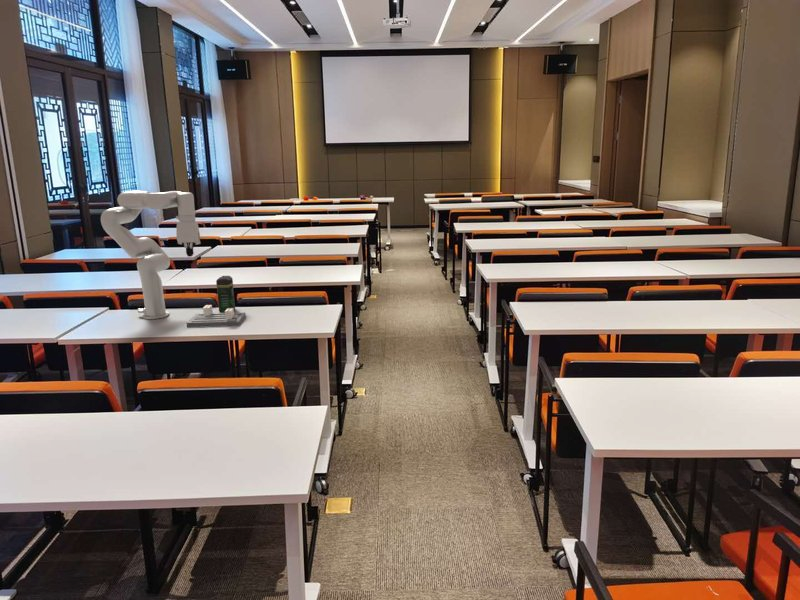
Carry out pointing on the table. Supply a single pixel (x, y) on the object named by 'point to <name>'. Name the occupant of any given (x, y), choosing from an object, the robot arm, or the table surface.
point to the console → (214, 319)
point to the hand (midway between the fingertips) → (190, 255)
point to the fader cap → (229, 313)
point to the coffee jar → (225, 293)
